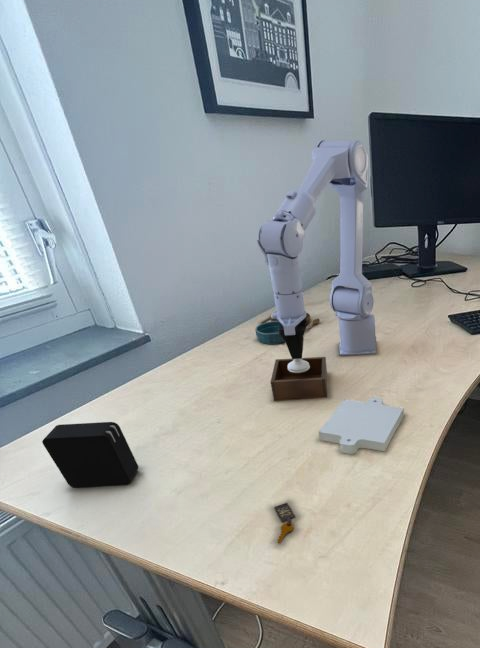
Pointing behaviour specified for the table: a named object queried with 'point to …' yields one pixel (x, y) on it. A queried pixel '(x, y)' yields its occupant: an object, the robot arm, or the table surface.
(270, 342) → the bowl
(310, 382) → the box
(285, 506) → the key tag
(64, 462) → the electronic device
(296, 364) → the chess piece
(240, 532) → the table surface
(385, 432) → the mounting plate
